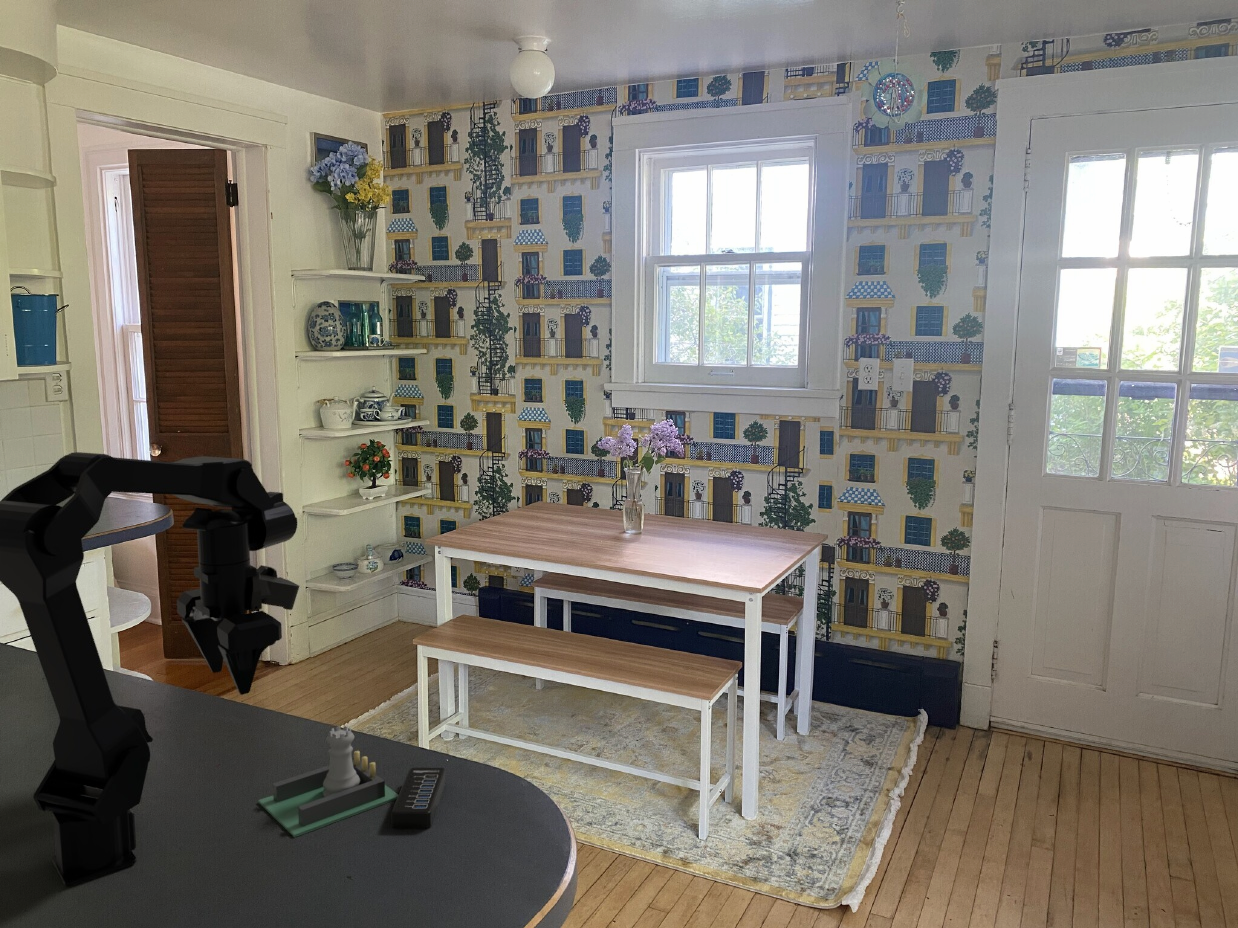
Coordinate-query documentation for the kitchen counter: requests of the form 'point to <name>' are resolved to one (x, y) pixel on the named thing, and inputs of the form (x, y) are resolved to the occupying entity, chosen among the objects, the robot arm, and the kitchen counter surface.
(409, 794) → the multiport hub
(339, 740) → the rook chess piece
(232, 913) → the kitchen counter surface
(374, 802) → the header socket
